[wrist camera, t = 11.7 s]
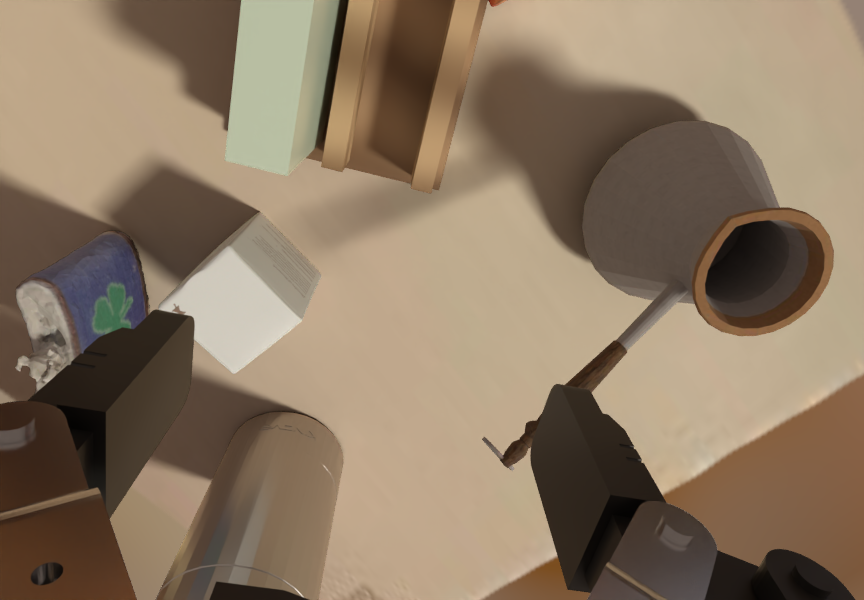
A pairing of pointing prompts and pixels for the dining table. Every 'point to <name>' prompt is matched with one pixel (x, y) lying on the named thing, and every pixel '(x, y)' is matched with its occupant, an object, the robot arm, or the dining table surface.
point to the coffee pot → (695, 241)
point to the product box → (246, 293)
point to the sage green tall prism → (282, 81)
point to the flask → (81, 302)
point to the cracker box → (496, 2)
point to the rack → (399, 87)
